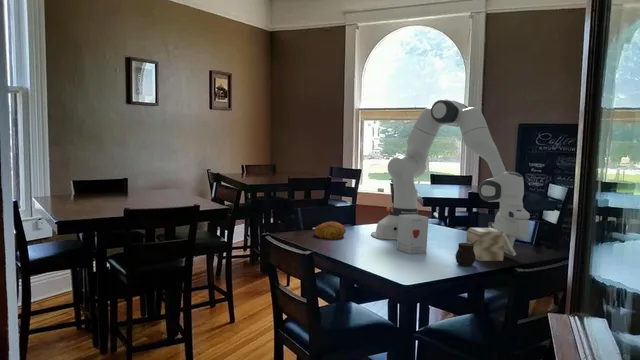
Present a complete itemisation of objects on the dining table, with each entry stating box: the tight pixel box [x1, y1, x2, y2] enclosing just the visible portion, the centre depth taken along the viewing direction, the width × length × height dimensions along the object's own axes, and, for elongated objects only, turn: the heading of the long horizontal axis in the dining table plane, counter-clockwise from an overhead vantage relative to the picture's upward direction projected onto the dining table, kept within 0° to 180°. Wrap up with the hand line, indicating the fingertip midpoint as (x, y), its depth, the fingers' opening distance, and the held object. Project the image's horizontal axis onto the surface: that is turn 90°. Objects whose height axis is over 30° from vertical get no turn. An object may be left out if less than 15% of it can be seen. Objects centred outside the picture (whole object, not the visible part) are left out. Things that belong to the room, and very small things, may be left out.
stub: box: [503, 233, 517, 257], centre depth 204 cm, size 10×9×1 cm
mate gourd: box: [455, 240, 477, 267], centre depth 188 cm, size 7×8×10 cm
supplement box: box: [396, 214, 429, 255], centre depth 208 cm, size 9×9×15 cm
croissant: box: [314, 220, 347, 240], centre depth 236 cm, size 14×16×8 cm
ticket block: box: [465, 227, 505, 262], centre depth 203 cm, size 10×12×11 cm
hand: (509, 245), depth 204 cm, fingers closed, pressing on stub
